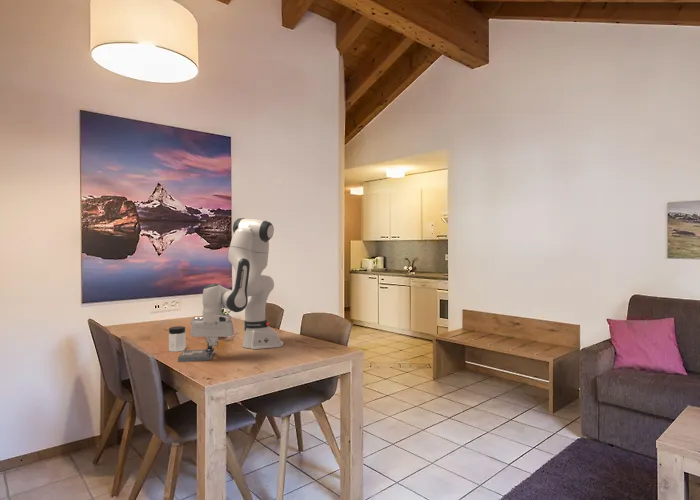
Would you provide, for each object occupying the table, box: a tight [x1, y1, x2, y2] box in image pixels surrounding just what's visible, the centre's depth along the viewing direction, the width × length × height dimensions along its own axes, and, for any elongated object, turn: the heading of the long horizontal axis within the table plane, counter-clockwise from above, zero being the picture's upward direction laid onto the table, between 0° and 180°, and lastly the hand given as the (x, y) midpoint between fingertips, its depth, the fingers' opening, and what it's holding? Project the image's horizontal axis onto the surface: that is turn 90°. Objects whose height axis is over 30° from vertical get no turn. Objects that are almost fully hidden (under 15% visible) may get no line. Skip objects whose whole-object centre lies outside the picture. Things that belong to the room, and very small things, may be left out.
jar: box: [168, 325, 187, 353], centre depth 237 cm, size 9×8×12 cm
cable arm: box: [206, 337, 225, 350], centre depth 222 cm, size 17×3×4 cm, turn 37°
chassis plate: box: [177, 342, 215, 363], centre depth 221 cm, size 15×15×6 cm
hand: (212, 345), depth 216 cm, fingers closed
